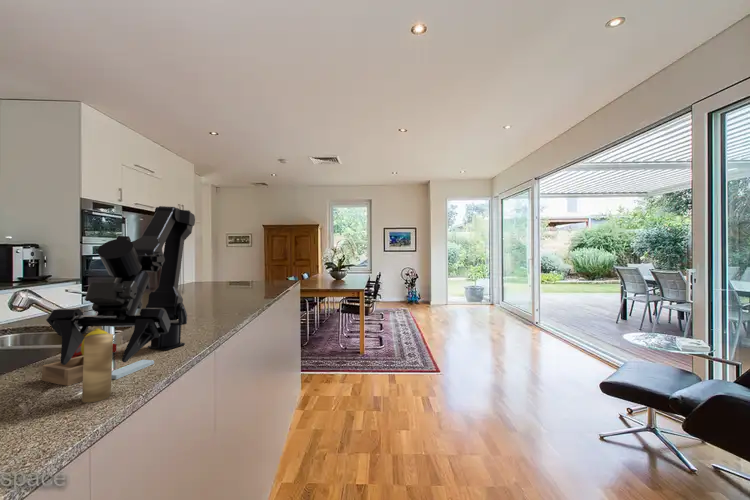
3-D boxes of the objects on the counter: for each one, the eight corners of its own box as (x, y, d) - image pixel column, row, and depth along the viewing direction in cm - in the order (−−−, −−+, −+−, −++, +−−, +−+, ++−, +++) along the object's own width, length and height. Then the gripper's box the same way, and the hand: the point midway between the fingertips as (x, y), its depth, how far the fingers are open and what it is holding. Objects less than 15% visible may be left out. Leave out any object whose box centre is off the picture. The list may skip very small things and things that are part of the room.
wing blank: (142, 363, 79) (142, 359, 79) (153, 363, 79) (154, 360, 79) (103, 378, 69) (103, 374, 69) (116, 379, 69) (116, 375, 69)
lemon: (93, 367, 75) (95, 332, 75) (73, 365, 76) (75, 330, 77) (117, 360, 81) (118, 327, 81) (98, 358, 82) (99, 325, 82)
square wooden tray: (83, 368, 75) (84, 355, 75) (108, 373, 72) (108, 359, 72) (41, 380, 67) (42, 365, 67) (67, 385, 65) (68, 370, 65)
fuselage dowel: (100, 391, 63) (102, 332, 63) (116, 394, 62) (118, 334, 62) (76, 400, 59) (78, 337, 59) (92, 403, 58) (94, 339, 58)
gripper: (55, 265, 63) (2, 339, 52) (167, 267, 67) (140, 336, 56) (80, 301, 70) (38, 373, 59) (179, 301, 74) (157, 368, 63)
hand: (93, 362), depth 59 cm, fingers open, 9 cm apart
